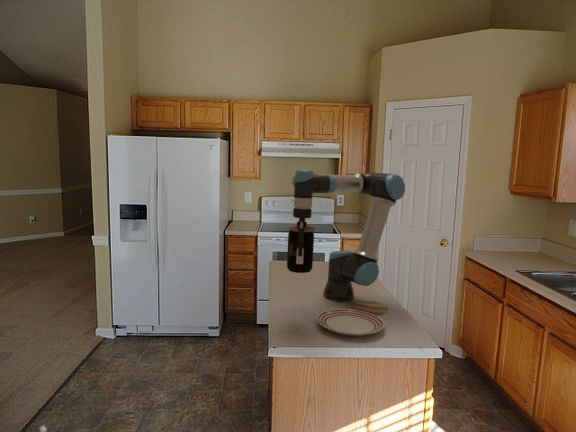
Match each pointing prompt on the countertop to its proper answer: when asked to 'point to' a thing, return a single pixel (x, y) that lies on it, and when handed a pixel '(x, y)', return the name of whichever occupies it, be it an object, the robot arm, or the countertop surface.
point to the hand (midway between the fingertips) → (299, 260)
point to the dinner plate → (350, 322)
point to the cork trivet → (370, 307)
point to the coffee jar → (307, 250)
